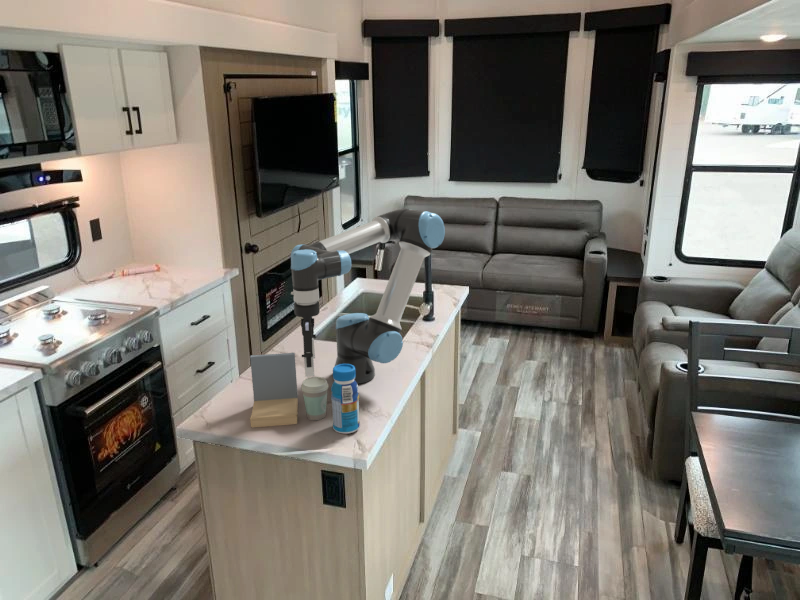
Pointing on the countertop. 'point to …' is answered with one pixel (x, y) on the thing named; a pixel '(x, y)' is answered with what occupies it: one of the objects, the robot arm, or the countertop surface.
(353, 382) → the beverage bottle
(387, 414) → the countertop surface
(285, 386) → the grey board on stand
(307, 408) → the coffee cup
